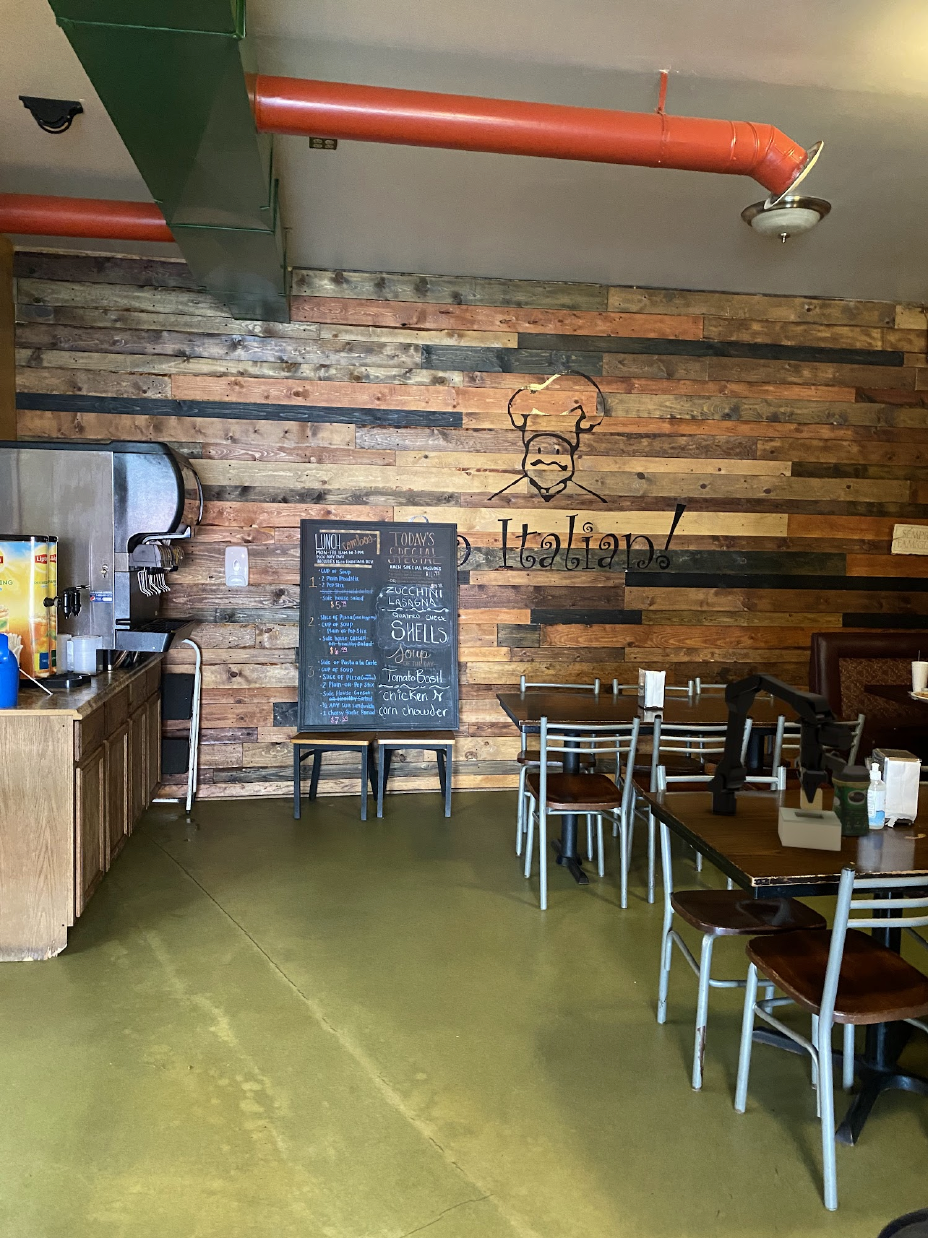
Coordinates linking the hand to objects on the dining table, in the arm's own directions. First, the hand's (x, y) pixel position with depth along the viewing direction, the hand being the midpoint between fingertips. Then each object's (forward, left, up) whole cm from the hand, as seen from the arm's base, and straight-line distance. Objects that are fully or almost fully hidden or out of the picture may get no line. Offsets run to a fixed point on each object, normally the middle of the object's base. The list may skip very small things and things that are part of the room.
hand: (809, 801), depth 231 cm
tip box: (0, 0, -11) cm, 11 cm away
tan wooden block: (0, 0, -2) cm, 2 cm away
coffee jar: (+12, +12, -11) cm, 20 cm away
